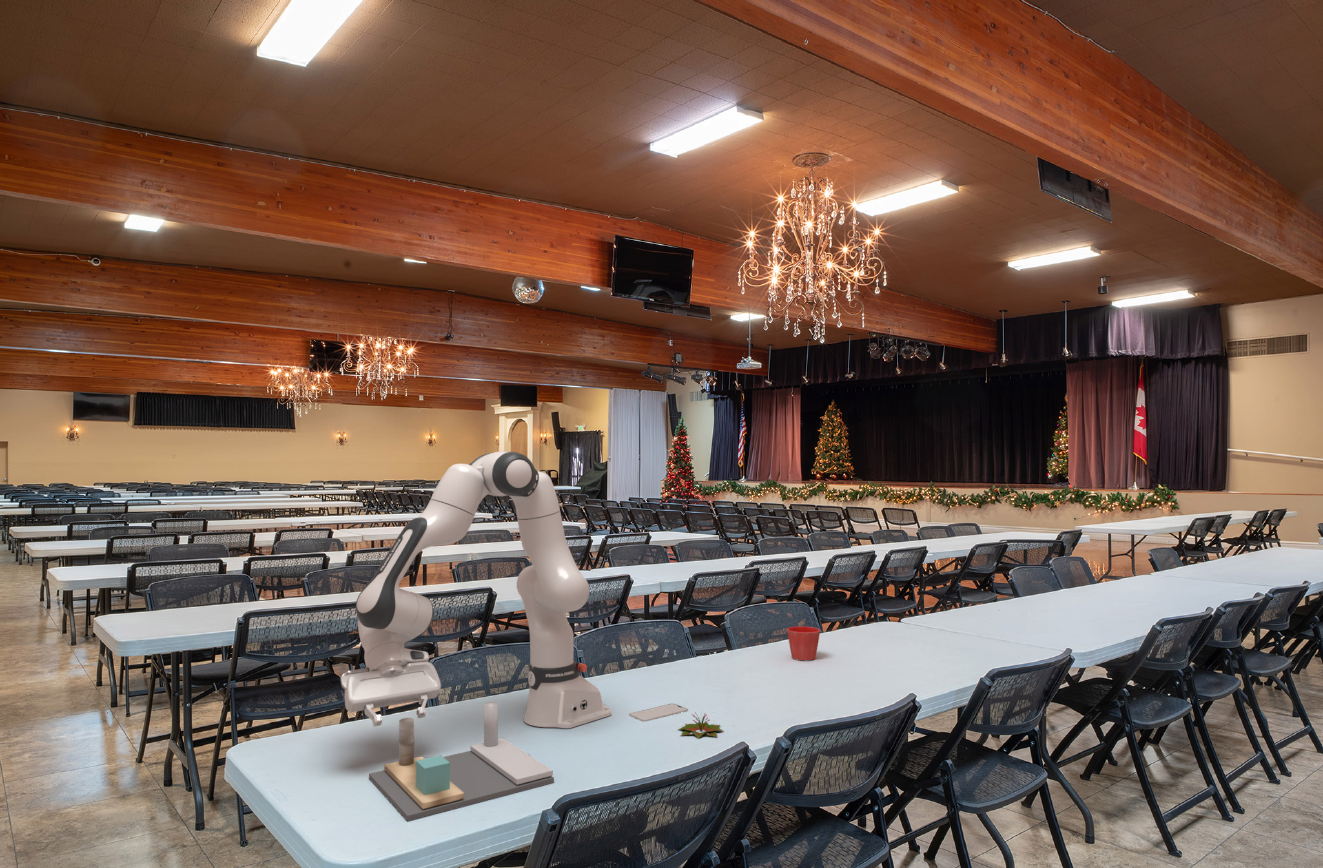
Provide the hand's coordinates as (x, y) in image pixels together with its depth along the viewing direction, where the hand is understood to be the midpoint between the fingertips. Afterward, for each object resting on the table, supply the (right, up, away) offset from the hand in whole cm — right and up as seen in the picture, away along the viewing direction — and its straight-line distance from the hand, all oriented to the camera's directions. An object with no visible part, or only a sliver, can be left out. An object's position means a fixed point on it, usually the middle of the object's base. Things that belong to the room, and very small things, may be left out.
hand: (400, 720), depth 171 cm
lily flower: (+66, -11, +23) cm, 71 cm away
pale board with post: (+24, -9, 0) cm, 25 cm away
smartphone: (+55, -12, +38) cm, 68 cm away
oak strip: (+8, -8, -11) cm, 16 cm away
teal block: (+12, -7, -16) cm, 21 cm away
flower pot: (+104, -14, +95) cm, 142 cm away
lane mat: (+15, -10, -7) cm, 19 cm away
